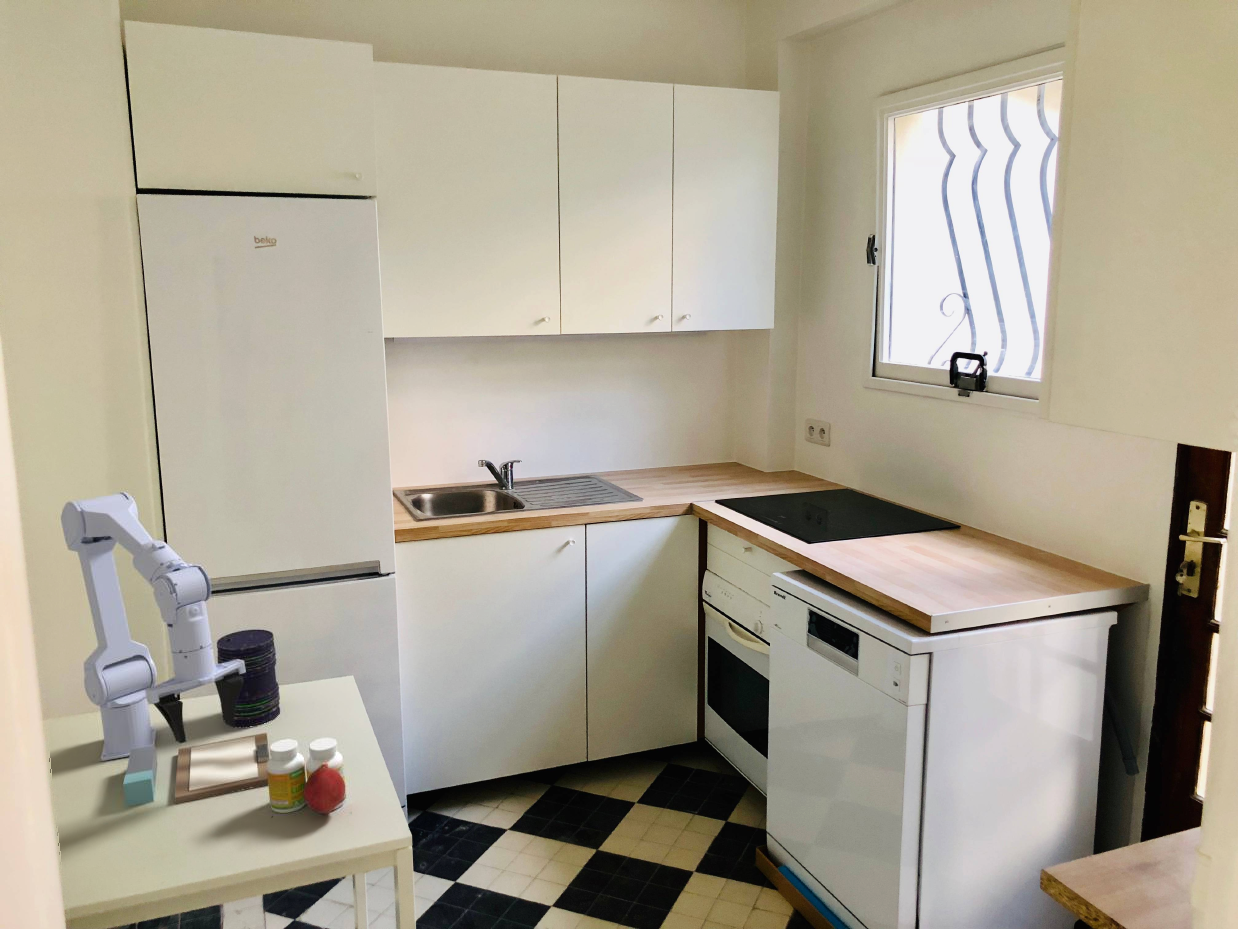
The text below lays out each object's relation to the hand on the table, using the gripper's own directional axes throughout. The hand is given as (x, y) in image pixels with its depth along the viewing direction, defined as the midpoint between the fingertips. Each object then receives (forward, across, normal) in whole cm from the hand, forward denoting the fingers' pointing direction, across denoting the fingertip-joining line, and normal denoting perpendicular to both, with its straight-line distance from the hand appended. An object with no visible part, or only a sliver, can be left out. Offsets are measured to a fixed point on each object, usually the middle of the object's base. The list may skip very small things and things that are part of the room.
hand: (205, 732), depth 146 cm
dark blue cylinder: (+8, +18, +22) cm, 29 cm away
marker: (+9, -6, +12) cm, 16 cm away
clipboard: (+10, +5, +7) cm, 13 cm away
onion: (+12, +8, -18) cm, 23 cm away
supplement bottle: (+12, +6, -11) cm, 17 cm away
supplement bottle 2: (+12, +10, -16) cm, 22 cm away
